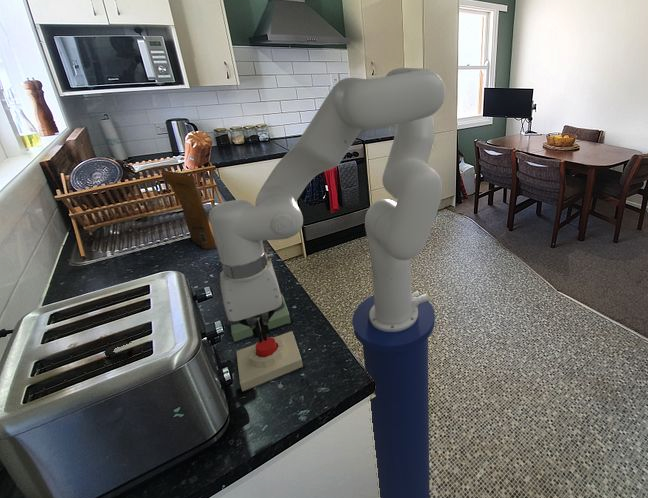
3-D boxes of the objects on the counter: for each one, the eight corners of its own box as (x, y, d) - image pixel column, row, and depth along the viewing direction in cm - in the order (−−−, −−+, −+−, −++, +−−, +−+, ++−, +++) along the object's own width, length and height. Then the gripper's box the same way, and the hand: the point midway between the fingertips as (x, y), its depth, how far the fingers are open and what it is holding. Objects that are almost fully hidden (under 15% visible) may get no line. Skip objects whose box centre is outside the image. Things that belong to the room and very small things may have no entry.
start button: (275, 340, 78) (273, 334, 77) (278, 352, 74) (276, 346, 74) (256, 347, 76) (254, 341, 75) (258, 360, 73) (256, 353, 72)
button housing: (293, 337, 83) (290, 324, 82) (303, 366, 75) (300, 352, 74) (238, 358, 78) (234, 344, 76) (242, 391, 70) (237, 377, 68)
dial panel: (283, 301, 96) (282, 293, 95) (290, 322, 88) (289, 314, 87) (231, 317, 90) (229, 309, 89) (234, 342, 82) (231, 333, 81)
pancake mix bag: (205, 254, 120) (182, 178, 109) (181, 240, 130) (157, 168, 119) (225, 246, 125) (204, 172, 114) (200, 233, 135) (179, 163, 124)
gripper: (282, 245, 73) (295, 315, 80) (199, 265, 66) (221, 339, 73) (289, 262, 67) (302, 335, 74) (199, 285, 60) (223, 364, 67)
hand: (262, 337), depth 74 cm, fingers closed
